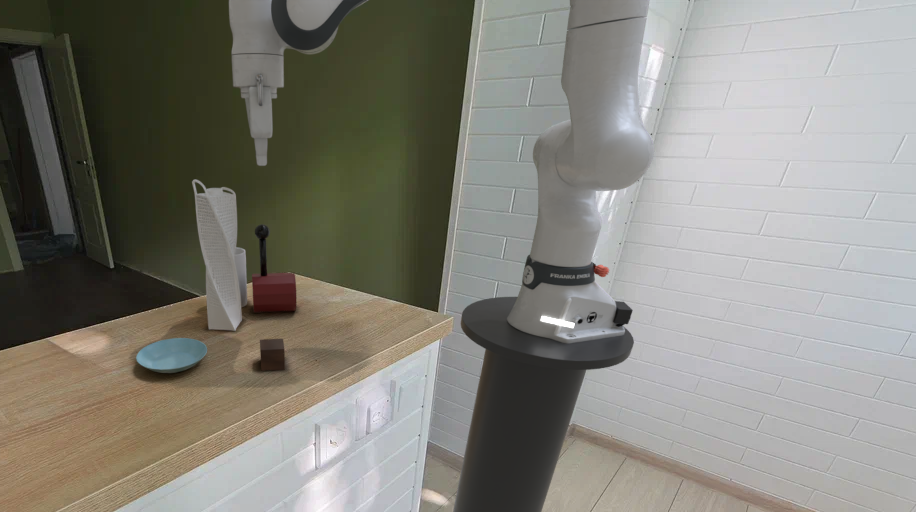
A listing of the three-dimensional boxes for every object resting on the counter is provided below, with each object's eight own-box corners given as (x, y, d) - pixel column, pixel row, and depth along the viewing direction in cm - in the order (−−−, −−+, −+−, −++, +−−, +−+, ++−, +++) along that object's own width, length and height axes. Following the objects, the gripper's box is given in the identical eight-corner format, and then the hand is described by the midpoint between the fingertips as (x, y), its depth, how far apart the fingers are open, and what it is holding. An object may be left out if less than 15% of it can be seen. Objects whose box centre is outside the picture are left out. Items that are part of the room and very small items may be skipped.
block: (283, 358, 85) (283, 338, 83) (284, 369, 81) (284, 348, 79) (260, 359, 84) (259, 339, 83) (261, 371, 81) (260, 349, 79)
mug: (224, 297, 112) (220, 246, 106) (252, 299, 111) (249, 247, 105) (208, 314, 103) (203, 259, 97) (238, 316, 102) (235, 260, 96)
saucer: (131, 382, 77) (129, 370, 76) (145, 350, 88) (143, 338, 87) (205, 379, 78) (204, 367, 77) (210, 347, 89) (209, 336, 88)
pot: (292, 219, 100) (249, 220, 99) (296, 228, 93) (249, 229, 92) (293, 302, 109) (253, 304, 108) (296, 316, 102) (254, 317, 101)
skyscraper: (199, 331, 95) (183, 181, 82) (211, 316, 102) (198, 176, 89) (238, 333, 94) (228, 182, 81) (248, 318, 101) (240, 177, 88)
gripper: (280, 72, 74) (281, 169, 80) (273, 79, 92) (275, 157, 98) (239, 72, 73) (243, 169, 80) (240, 78, 91) (244, 157, 98)
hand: (261, 162), depth 89 cm, fingers open, 8 cm apart
